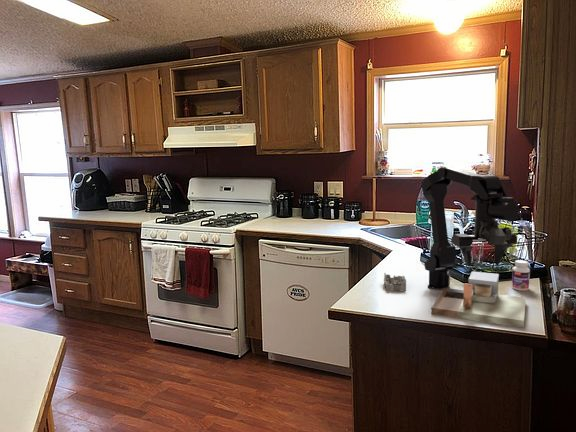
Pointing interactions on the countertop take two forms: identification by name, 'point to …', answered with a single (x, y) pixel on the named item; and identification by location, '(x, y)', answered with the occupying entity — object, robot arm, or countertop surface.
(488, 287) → the maple block
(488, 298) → the sled
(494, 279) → the tunnel
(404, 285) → the grey stone castle ruin
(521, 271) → the pill bottle
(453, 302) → the deck
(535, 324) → the countertop surface
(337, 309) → the countertop surface
